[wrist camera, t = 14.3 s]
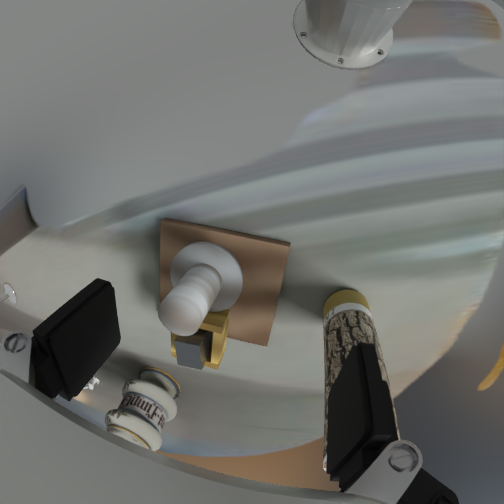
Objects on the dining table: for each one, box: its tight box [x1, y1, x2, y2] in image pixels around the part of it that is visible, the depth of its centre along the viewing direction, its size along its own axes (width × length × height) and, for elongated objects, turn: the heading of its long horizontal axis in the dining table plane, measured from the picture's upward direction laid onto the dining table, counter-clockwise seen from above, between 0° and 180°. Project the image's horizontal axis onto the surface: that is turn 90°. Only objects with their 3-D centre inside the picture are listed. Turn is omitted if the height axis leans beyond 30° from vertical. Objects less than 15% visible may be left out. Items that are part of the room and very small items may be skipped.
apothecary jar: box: [105, 367, 181, 451], centre depth 47 cm, size 12×12×18 cm
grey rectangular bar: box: [174, 328, 213, 370], centre depth 37 cm, size 4×3×11 cm
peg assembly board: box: [158, 218, 290, 369], centre depth 35 cm, size 18×18×16 cm
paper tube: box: [323, 290, 400, 471], centre depth 29 cm, size 7×7×25 cm
